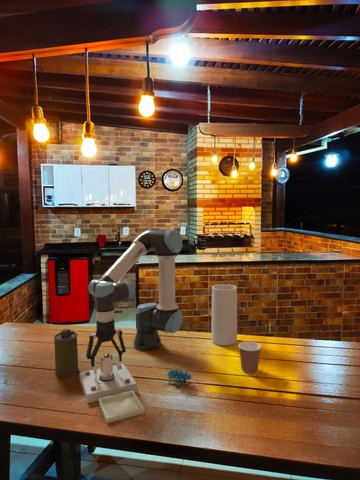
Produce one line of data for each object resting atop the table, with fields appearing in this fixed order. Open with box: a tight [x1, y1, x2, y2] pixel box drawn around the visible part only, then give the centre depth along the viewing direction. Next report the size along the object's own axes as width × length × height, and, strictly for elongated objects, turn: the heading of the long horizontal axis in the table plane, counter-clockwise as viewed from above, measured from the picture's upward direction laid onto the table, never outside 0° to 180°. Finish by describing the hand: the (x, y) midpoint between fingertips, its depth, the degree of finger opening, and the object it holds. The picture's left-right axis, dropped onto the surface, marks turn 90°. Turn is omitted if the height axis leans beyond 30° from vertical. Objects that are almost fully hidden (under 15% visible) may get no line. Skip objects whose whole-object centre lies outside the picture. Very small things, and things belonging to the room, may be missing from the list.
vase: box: [210, 283, 238, 347], centre depth 192 cm, size 14×14×32 cm
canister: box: [53, 328, 80, 378], centre depth 158 cm, size 11×10×20 cm
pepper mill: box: [99, 352, 114, 382], centre depth 145 cm, size 6×6×14 cm
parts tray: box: [98, 391, 145, 425], centre depth 129 cm, size 14×14×2 cm
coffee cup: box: [238, 341, 262, 375], centre depth 158 cm, size 10×10×12 cm
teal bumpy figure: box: [166, 369, 192, 388], centre depth 146 cm, size 11×6×10 cm
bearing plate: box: [79, 363, 138, 404], centre depth 146 cm, size 20×20×4 cm
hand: (106, 371), depth 145 cm, fingers open, 9 cm apart
